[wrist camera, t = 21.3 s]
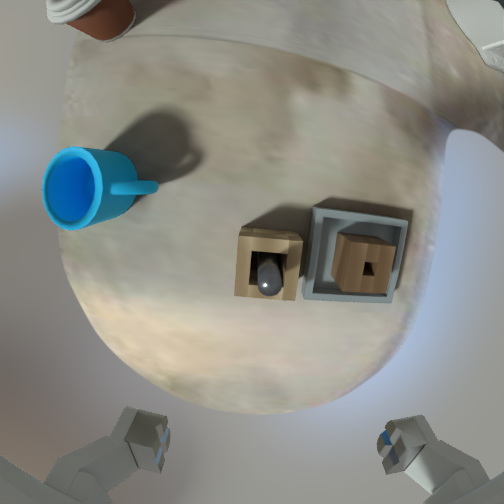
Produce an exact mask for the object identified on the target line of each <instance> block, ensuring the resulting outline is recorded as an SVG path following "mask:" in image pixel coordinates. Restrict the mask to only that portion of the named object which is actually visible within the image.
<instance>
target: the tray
mask: <svg viewBox="0 0 504 504" xmlns="http://www.w3.org/2000/svg"><path fill="white" fill-rule="evenodd" d="M407 226H408V221H407V220H404V219H401V218H396V217H389V216H383V215H376V214H369V213H362V212H355V211H348V210H340V209H332V208H324V207H316V206H313V208H312V217H311V225H310V233H309V241H308V249H307V256H306V263H305V270H304V277H303V284H302V291H301V292H302V295H303V298H304V299H306V300H322V301H341V302H364V303H391V302H392V298H393V294H394V290H395V286H396V282H397V278H398V273H399V269H400V264H401V259H402V254H403V249H404V244H405V238H406V232H407ZM337 232H342V233H351V234H360V235H368V236H377V237H379V238H381V239H383V240H384V241H386V242H388V243H390V244H392V245H394V246H395V247H396V249H395V254H394V260H393V264H392V269H391V274H390V278H389V283H388V287H387V291H386V294H384V293H363V292H345V291H342V290H341V289H340V287H339V286H338V285H337V283H336V282H335V280H334V279H333V278H332V276H331V269H332V263H333V257H334V251H335V244H336V237H337Z"/></svg>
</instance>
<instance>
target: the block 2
mask: <svg viewBox="0 0 504 504" xmlns="http://www.w3.org/2000/svg"><path fill="white" fill-rule="evenodd" d="M395 249H396V247H395V246H394V245H392V244H390V243H388V242H386V241H384V240H383V239H381V238H379V237H377V236H368V235H360V234H351V233H342V232H337V237H336V244H335V251H334V257H333V263H332V269H331V276H332V278H333V279H334V280H335V282H336V283H337V285H338V286H339V287H340V289H341V290H342V291H345V292H363V293H384V294H386V291H387V287H388V283H389V278H390V274H391V269H392V264H393V260H394V254H395Z"/></svg>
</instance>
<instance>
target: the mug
mask: <svg viewBox="0 0 504 504" xmlns="http://www.w3.org/2000/svg"><path fill="white" fill-rule="evenodd" d="M157 190H158V183H157V182H156V181H149V180H138V178H137V172H136V170H135V167H134V165H133V163H132V162H131V161H130V160H129V158H128V157H127V156H125V155H123V154H121V153H120V152H114V151H106V150H99V149H91V148H82V147H73V146H72V147H69V148H65V149H63V150H61V151H60V152H59V153H57V154H56V155H55V156H54V158H53V159H52V160H51V162H50V163H49V165H48V166H47V169H46V172H45V174H44V178H43V186H42V194H43V202H44V205H45V208H46V211H47V213H48V215H49V216H50V218H51V219H52V221H53V222H54V223H56V224H57V225H58V226H59V227H60V228H63V229H66V230H69V231H70V230H78V229H82V228H84V227H87V226H90V225H93V224H96V223H99V222H102V221H105V220H109V219H112V218H115V217H117V216H119V215H121V214H123V213H125V212H126V211H127V210H128V208H129V207H130V206H131V205H132V203H133V201H134V199H135V197H136V194H152V193H155V192H156V191H157Z"/></svg>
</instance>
